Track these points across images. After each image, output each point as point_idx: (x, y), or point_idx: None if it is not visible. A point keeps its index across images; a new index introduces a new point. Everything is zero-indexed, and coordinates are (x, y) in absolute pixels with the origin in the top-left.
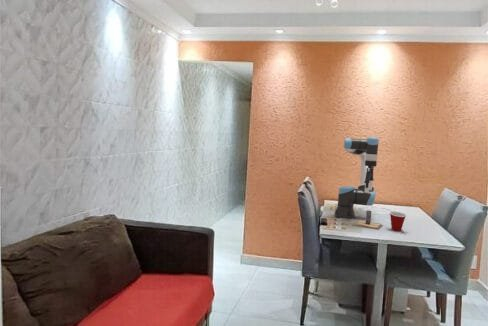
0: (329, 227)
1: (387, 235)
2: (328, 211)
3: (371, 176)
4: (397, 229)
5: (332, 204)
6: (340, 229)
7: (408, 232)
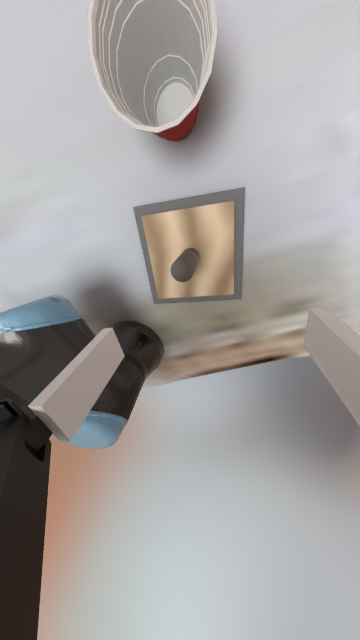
0: None
1: (317, 102)
2: None
3: (9, 525)
4: (195, 87)
5: None
6: None
7: None
